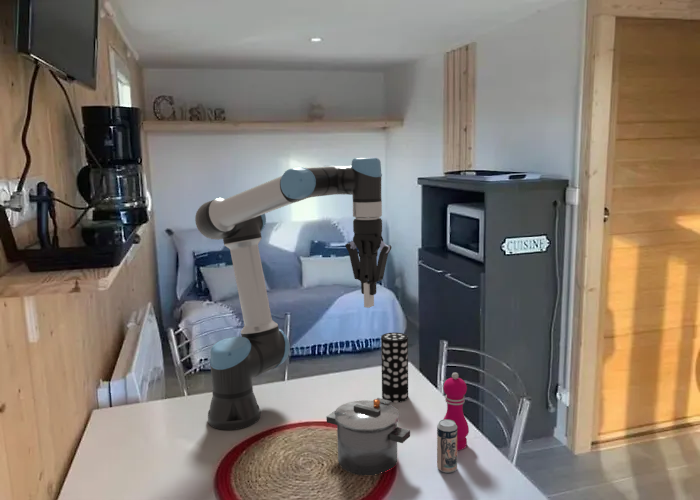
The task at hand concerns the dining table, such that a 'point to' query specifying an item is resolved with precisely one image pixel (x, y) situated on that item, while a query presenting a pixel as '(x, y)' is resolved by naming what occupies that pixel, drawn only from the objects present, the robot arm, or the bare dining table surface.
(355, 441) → the cooking pot
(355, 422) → the pot lid
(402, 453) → the dining table surface
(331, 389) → the dining table surface
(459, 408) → the pepper mill
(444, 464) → the beer can
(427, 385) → the dining table surface
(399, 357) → the white-spotted black cylinder
